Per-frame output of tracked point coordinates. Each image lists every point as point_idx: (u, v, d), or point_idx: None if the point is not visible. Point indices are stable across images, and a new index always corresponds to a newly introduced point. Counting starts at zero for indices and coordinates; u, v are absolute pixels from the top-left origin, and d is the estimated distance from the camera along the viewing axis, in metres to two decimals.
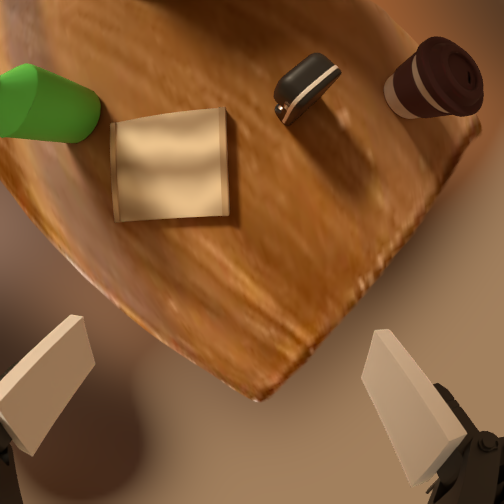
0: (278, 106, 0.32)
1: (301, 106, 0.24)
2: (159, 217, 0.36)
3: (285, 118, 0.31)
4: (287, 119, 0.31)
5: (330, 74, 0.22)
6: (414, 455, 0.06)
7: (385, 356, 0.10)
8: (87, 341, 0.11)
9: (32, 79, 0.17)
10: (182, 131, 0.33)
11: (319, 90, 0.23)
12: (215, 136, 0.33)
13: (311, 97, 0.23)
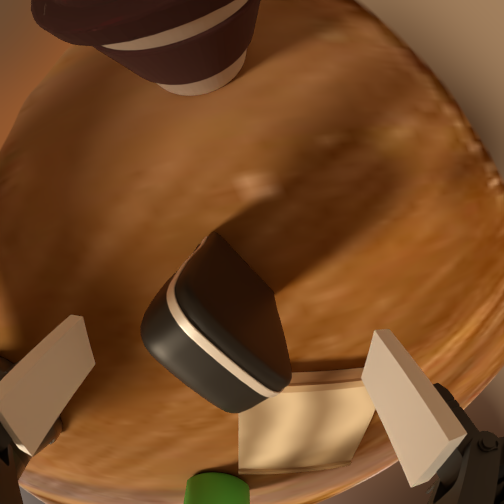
0: None
1: None
2: (362, 434, 0.25)
3: None
4: None
5: (205, 335, 0.10)
6: (414, 455, 0.06)
7: (385, 356, 0.10)
8: (87, 341, 0.11)
9: None
10: (267, 423, 0.23)
11: (256, 361, 0.10)
12: (282, 393, 0.22)
13: (275, 376, 0.10)
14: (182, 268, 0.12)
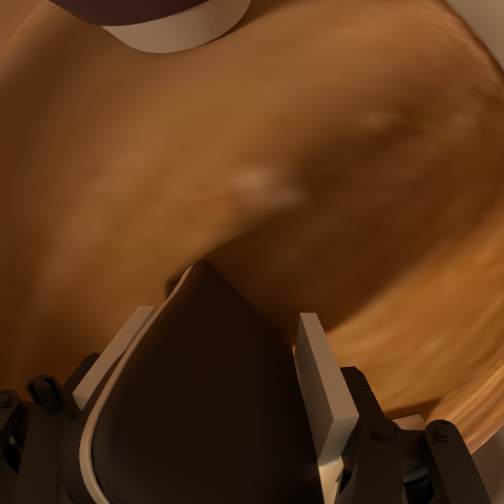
0: None
1: None
2: None
3: None
4: None
5: None
6: (317, 433, 0.08)
7: (304, 336, 0.11)
8: None
9: None
10: None
11: None
12: None
13: None
14: (121, 369, 0.05)
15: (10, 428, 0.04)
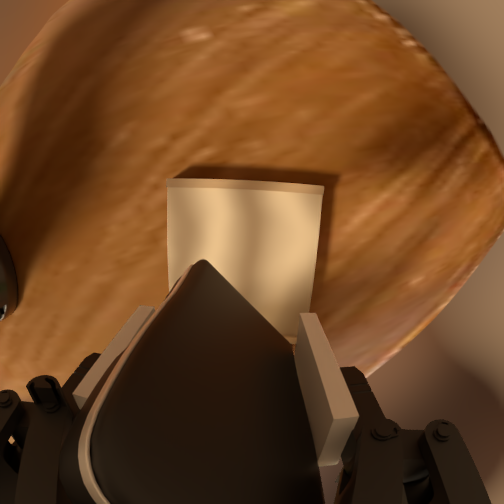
0: None
1: None
2: (311, 283, 0.27)
3: None
4: None
5: None
6: (316, 433, 0.08)
7: (304, 336, 0.11)
8: None
9: None
10: (195, 239, 0.26)
11: None
12: (208, 193, 0.24)
13: None
14: (120, 367, 0.05)
15: (10, 428, 0.04)
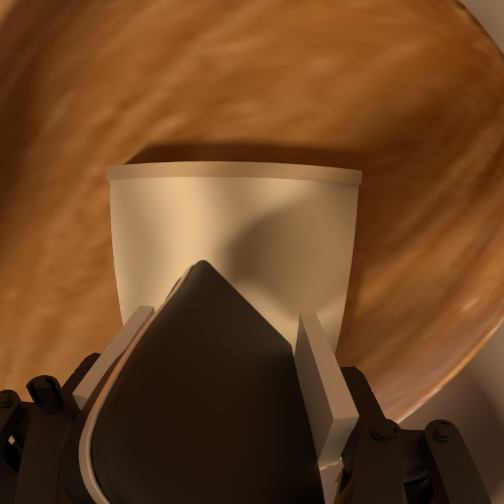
0: None
1: None
2: (338, 324, 0.17)
3: None
4: None
5: None
6: (317, 433, 0.08)
7: (304, 336, 0.11)
8: None
9: None
10: (155, 262, 0.15)
11: None
12: (171, 186, 0.14)
13: None
14: (120, 368, 0.05)
15: (10, 428, 0.04)
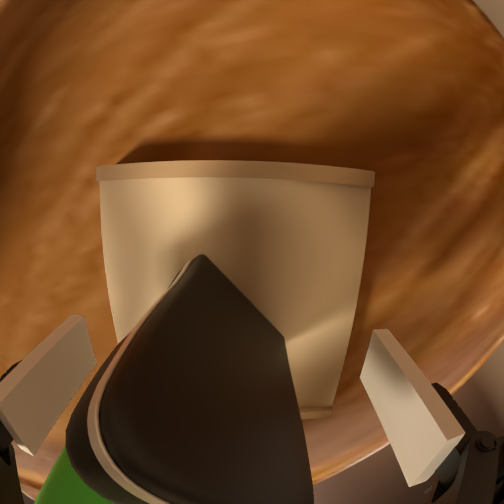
0: None
1: None
2: (346, 336, 0.15)
3: None
4: None
5: (162, 498, 0.03)
6: (412, 454, 0.06)
7: (383, 355, 0.10)
8: (88, 341, 0.11)
9: None
10: (148, 270, 0.14)
11: None
12: (165, 188, 0.13)
13: None
14: (127, 344, 0.06)
15: None
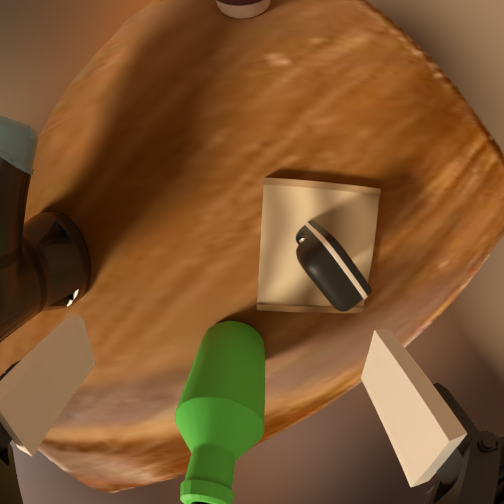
0: None
1: (371, 291, 0.23)
2: (369, 263, 0.33)
3: None
4: None
5: (342, 260, 0.21)
6: (414, 455, 0.06)
7: (385, 356, 0.10)
8: (87, 341, 0.11)
9: (206, 403, 0.22)
10: (285, 227, 0.32)
11: (361, 275, 0.22)
12: (296, 191, 0.31)
13: (367, 284, 0.22)
14: (319, 233, 0.24)
15: None
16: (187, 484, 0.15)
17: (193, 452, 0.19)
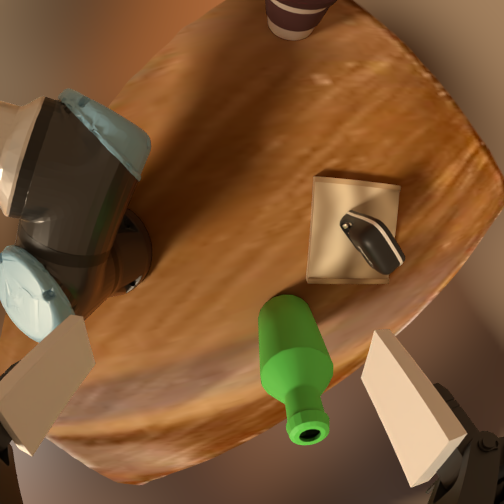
0: (359, 249, 0.40)
1: None
2: None
3: None
4: None
5: (388, 236, 0.29)
6: (414, 455, 0.06)
7: (385, 356, 0.10)
8: (87, 341, 0.11)
9: (294, 352, 0.29)
10: (331, 215, 0.40)
11: (399, 247, 0.30)
12: (340, 187, 0.39)
13: (403, 254, 0.30)
14: (368, 218, 0.32)
15: None
16: (297, 416, 0.22)
17: (289, 394, 0.26)
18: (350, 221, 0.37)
